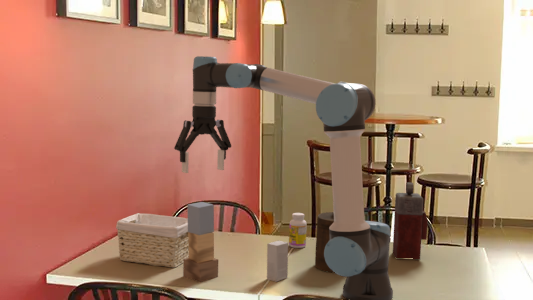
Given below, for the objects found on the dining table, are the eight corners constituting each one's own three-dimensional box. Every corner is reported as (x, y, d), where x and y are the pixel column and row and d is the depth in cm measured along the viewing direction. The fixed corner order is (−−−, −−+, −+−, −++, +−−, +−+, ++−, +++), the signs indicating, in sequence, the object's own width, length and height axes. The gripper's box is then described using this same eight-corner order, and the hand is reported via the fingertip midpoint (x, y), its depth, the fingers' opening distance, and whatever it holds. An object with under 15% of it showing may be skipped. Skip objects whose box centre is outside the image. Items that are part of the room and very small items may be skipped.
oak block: (213, 259, 219) (213, 232, 218) (197, 262, 216) (197, 235, 214) (204, 255, 224) (204, 228, 223) (188, 258, 221) (188, 231, 219)
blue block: (213, 231, 219) (213, 204, 218) (199, 235, 215) (199, 207, 214) (202, 228, 223) (202, 201, 222) (187, 231, 219) (187, 204, 218)
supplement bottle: (285, 244, 265) (286, 212, 263) (300, 243, 267) (301, 211, 266) (293, 249, 258) (294, 216, 257) (308, 247, 261) (310, 215, 260)
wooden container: (343, 276, 226) (346, 211, 223) (306, 267, 235) (309, 205, 232) (365, 266, 237) (368, 205, 235) (329, 258, 246) (331, 199, 244)
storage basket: (196, 258, 242) (197, 218, 241) (176, 270, 227) (177, 227, 225) (137, 251, 250) (137, 212, 248) (114, 262, 235) (114, 220, 233)
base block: (217, 277, 221) (218, 259, 220) (200, 282, 215) (200, 264, 214) (201, 271, 226) (201, 254, 226) (183, 276, 220) (183, 259, 220)
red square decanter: (426, 260, 248) (430, 185, 245) (395, 259, 248) (399, 184, 245) (422, 253, 257) (426, 181, 253) (392, 252, 257) (396, 180, 254)
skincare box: (277, 275, 224) (278, 240, 223) (287, 278, 222) (288, 242, 220) (266, 279, 220) (266, 243, 218) (276, 282, 217) (277, 245, 216)
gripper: (229, 104, 226) (228, 167, 228) (164, 104, 210) (163, 172, 213) (242, 105, 220) (241, 169, 222) (176, 106, 204) (175, 175, 207)
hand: (203, 171), depth 218 cm, fingers open, 13 cm apart
